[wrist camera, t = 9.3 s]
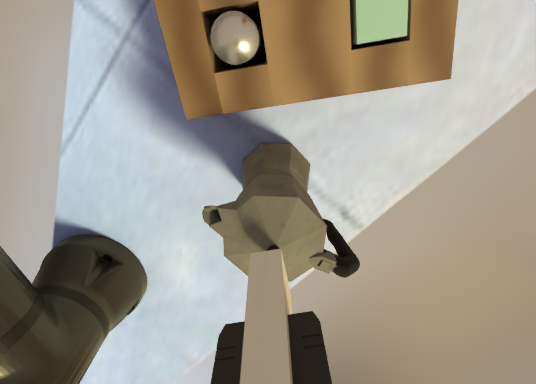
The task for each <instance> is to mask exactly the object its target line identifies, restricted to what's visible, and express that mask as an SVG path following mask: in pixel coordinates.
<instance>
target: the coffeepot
mask: <svg viewBox="0 0 536 384" xmlns="http://www.w3.org/2000/svg"><path fill="white" fill-rule="evenodd" d="M309 170H310V163H309V162H308V161H307V160H306V159H305V158H304V157H303V155H302V154H301V153H300V152H299V151H298V150H297V149H296V148H295V147H294V146H293V145H292V144H283V143H262V144H261V145H260V146H259V147H258V148H256V149H255V150H254V151H253V152H252V153H251V154H250V155H249V156H248V157H247V158H246V159H244V160H243V191H242V192H241V193H240V195H239V196H238V198H237V200H236V201H234V202H230V203H227V204H223V205H220V206H205V207H204V209H203V212H202V214H203V219H204V221H205V222H206V223H207V224H209V226H210V227H211V228H212V229H213V230H215V231H216V232H217V233H218V234H220V235H221V236H222V237H223V238H224V256H225V257H226V258H227V259H228V260H230V261H231V262H232V263H233V264H234V265H236V266H237V267H238V268H239V269H240V270H242V271H243V272H244V273H245V274H246V275H248V276H249V264H250V253H256V252H263V251H269V250H275V249H281V251H282V255H283V260H284V265H285V270H286V274H287V279H288V281H293V280H294V279H296V278H297V277H299V276H300V275H302V274H303V273H305V272H306V271H308V270H309V269H311V268H312V267H314V268H315V269H318V270H321V271H323V272H326V273H330V271H332V272H334V273H335V274H336V275H339V276H341V277H344V278H345V277H348V276H350V275H351V274H353V273H354V272H356V271H357V270H358V268H359V266H360V262H359V260H358V258H357V257H356V255H355V254H354V253H353V251H352V250H351V249H350V247H349V246H348V245H347V243H346V242H345V240H344V239H343V237H342V236H341V234H340V233H339V232H338V230H337V229H336V228H335V226H334V225H333V223H332V222H330V221H328V220H326V219H322V217H321V215H320V214H319V212H318V210H317V208H316V206H315V205H314V203H313V201H312V199H311V198H310V196H309V194H308V193H307V190H308V180H309ZM326 232H327V237H328V240H329V241H330V242H331V244H332V245H333V246H334V247H335V249H336V252H337V254H338V256H337V255H335V254H333V253H332V252H330V251H327V250H325V249H324V243H325V236H326Z"/></svg>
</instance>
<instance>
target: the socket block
mask: <svg viewBox="0 0 536 384" xmlns="http://www.w3.org/2000/svg"><path fill="white" fill-rule="evenodd" d="M154 4H155V7H156V11H157V15H158V18H159V22H160V26H161V29H162V33H163V37H164V40H165V44H166V48H167V51H168V55H169V59H170V62H171V66H172V70H173V73H174V77H175V81H176V84H177V88H178V92H179V95H180V99H181V103H182V106H183V110H184V114H185V117H186V120H187V119H194V118H200V117H207V116H213V115H220V114H226V113H233V112H239V111H246V110H252V109H259V108H265V107H272V106H278V105H285V104H291V103H297V102H304V101H310V100H317V99H323V98H330V97H336V96H343V95H349V94H356V93H362V92H369V91H375V90H382V89H388V88H394V87H401V86H407V85H414V84H420V83H427V82H433V81H440V80H446V79H451V70H452V60H453V49H454V39H455V29H456V18H457V8H458V0H408V21H407V36H403V37H397V38H391V39H385V40H381V41H380V42H374V43H368V44H362V45H356V46H351V25H350V0H154ZM228 11H239V12H242V13H244V14H247V13H252V12H258V11H260V16H261V23H262V30H263V36H264V43H265V50H266V57H267V61H262V62H256V63H250V64H244V65H238V66H232V67H228V65H227V63H226V62H224V61H223V60H221V59H220V58H219V57H218V56H217V54H216V53H215V51H214V50H213V47H212V44H211V29H212V26H213V24H214V22H215V20H216V19H217V18H218V17H219V16H220V15H221V14H223V13H225V12H228Z"/></svg>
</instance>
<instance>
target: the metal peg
mask: <svg viewBox="0 0 536 384" xmlns="http://www.w3.org/2000/svg"><path fill="white" fill-rule="evenodd" d="M211 44H212V47H213V50H214V51H215V53H216V54H217V56H218V57H219V58H220V59H221V60H223V61H224V62H226V63H229V64H233V65H237V64H242V63H245V62H247V61H249V60H251V59H252V58H254V57H255V56H257V55H258V53H259V52H260V50H261V48H262V44H263V36H262V32H261V30H260V28H259V26H258V25H257V24H256V23H255V22H254V21H253V20H252V19H251V18H249V17H248V16H247V15H246V14H244V13H242V12H239V11H228V12H225V13H223V14H221V15H220V16H219V17H218V18H217V19H216V20H215V22H214V24H213V26H212V29H211Z"/></svg>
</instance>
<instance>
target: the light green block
mask: <svg viewBox="0 0 536 384" xmlns="http://www.w3.org/2000/svg"><path fill="white" fill-rule="evenodd" d="M407 21H408V0H350V25H351V44H362V43H368V42H373V41H379V40H385V39H391V38H397V37H403V36H407Z"/></svg>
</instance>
